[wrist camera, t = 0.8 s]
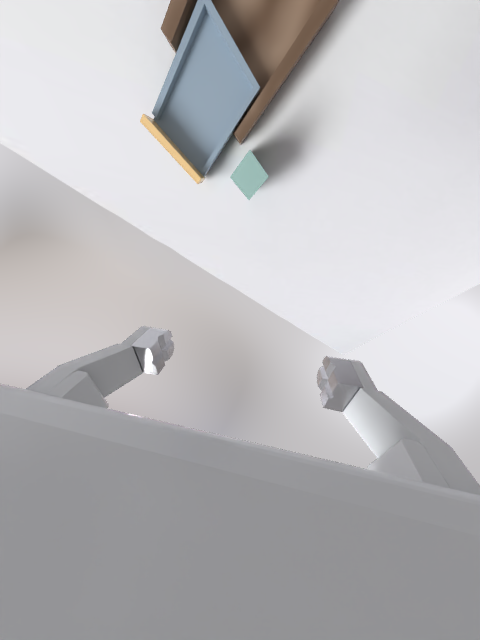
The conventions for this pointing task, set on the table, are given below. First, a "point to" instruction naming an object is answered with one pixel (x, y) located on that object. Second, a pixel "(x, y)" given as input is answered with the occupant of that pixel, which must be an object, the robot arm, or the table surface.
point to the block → (249, 175)
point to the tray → (202, 94)
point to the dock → (259, 39)
